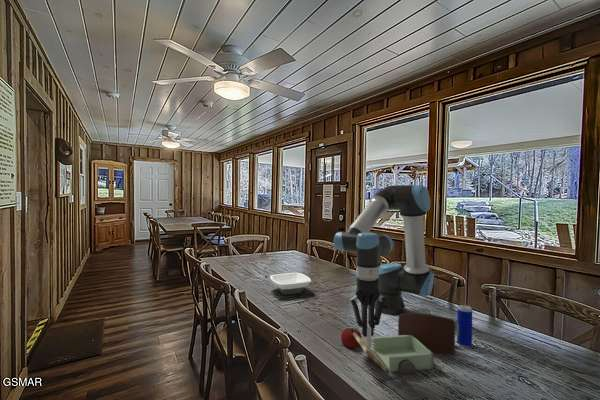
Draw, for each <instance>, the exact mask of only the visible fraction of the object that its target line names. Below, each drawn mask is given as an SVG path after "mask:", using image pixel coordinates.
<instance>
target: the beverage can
mask: <svg viewBox="0 0 600 400" xmlns="http://www.w3.org/2000/svg"><path fill="white" fill-rule="evenodd" d="M456 314H457V316H456V325H457V326H456V327H457V328H456V342H457V344H458V345H459V346H460V347H463V348H470V347H472V345H473V309H472V306H469V305H465V304H458V305H457V312H456Z"/></svg>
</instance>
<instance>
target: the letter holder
mask: <svg viewBox="0 0 600 400" xmlns="http://www.w3.org/2000/svg"><path fill="white" fill-rule="evenodd" d="M397 323H398V327H397V328H398V329H397V336H399V335H413V336H414V337H415V338H416V339H417V340H418V341H419V342H420V343H422V344H423V345H424V346H425V347H426V348H427V349H428V350H429V351H431V352H432V353H433V354H439V355H445V354H446V356H453V357H455V355H456V352H455V350H456V348H455V347H456V339H455V338H456V323H455V320H453V319H452V318H448V317H444V316H439V315H433V314H428V313H415V312H414V313H411V312H410V313H407V312H403V313H401V314H398V322H397Z"/></svg>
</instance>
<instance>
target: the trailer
mask: <svg viewBox="0 0 600 400" xmlns="http://www.w3.org/2000/svg"><path fill="white" fill-rule="evenodd" d="M373 350H374V352H375V353H376V354H377V356H378V357H379V358H380V359H381V361H382V362H383V363H384V365H385V366H386V367H387V369H388V370H389V371H388V372H389V373H400V374H401V376H408V375H412V376H413V375H415V374H416V371H421V370H423V371H424V370H433V369H434V353H433V352H432V351H431V350H429V349H427V348H426V347H425V346H424V345H423V344H422V343H420V342H419V341H418V340H417V339H416V338H415V337H414V336H413V335H399V336H398V335H389V336H388V335H387V336H376V337H375V336H374V337H373Z"/></svg>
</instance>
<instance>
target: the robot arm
mask: <svg viewBox="0 0 600 400" xmlns="http://www.w3.org/2000/svg"><path fill="white" fill-rule="evenodd" d="M430 208H431V196H430V193H429V190H428V188H427V187H426V186H424V185H419V184H403V185H397V184H396V185H394V184H393V185H389V186H386V187H384V188H382V189H380V190H378V191H377V192H376V193H375V194H373V195H372V196H371V198H369V200H368V205H367V206H365V207H364V209H363V210H362V212H361V213H360V214H359V215H358V216H357V218H356V219H354V221H353V222H352V223H351V224H350V226H348V228H347V229H346V231H338V232H336V233H335V235H334V237H333V245H334V248H335V250H338V251H341V252H346V253H347V252H348V253H356V277H357V278H356V292H355V295H354V296H352V297H349V299H348V300H349V302H350V303H351V305H352V308H353V313H354V317H355V321H356V322H355V323H356V324H357V325H358V327H360V328H361V336H362V337H364V342H365V345H366V346H367V347H370V348H372V337H373V336H374V333H375V332H374V331H375V328H376V326H379V325H380V322H381V316H382V314H387V315H400V314H403V313H406V312H405V311H406V305H405V302H404V299H403V296H402V293H407V294H412V295H417V296H419V297H420V296H423V297H428V296H430V294H431V292H432V290H433V287H434V281H435V273H433V272H432V271H430V267H429V266H428V265H427V264H426V250H425V249H426V247H425V230H424V228H425V227H424V217H425V216H426V215H427V212H428V211H430ZM391 210H393V211H394V210H395V211H399V216H400V217H402V218H403V229H404V230H403V232H404V242H405V243H404V244H405V257H406V259H405V260H406V264H405V265H404V266H403V265H402V264H401V263H396V262H395V263H393V262H391V263H383V264H381V265H380V264H379V263H380V257H383V256H387V255H388V254H389V253H391V252H392V251H393V248H394V241H393V239H392V237H390V235H388V234H384V233H383V234H378V233H375V232H370V231H371V230H372V228H373V227H374V226H375V224H376V223H377V222H378V220H379V219H380V218H381V216H382V215H383V214H386V213H387V212H388V211H391ZM358 301H359V303H360V306H361V307H360V308H361V311H360V309H359V305H358ZM360 312H361V313H360Z"/></svg>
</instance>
